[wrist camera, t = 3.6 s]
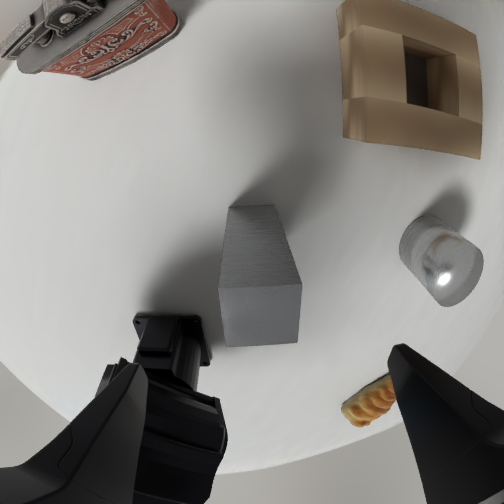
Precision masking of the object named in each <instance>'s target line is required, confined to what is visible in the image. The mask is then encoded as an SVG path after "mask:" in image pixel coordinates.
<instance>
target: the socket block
mask: <svg viewBox="0 0 504 504" xmlns="http://www.w3.org/2000/svg"><path fill="white" fill-rule="evenodd" d="M337 17H338V27H339V37H340V50H341V65H342V86H343V137H346V138H350V139H355V140H359V141H363V142H367V143H378V144H388V145H397V146H405V147H413V148H420V149H426V150H433V151H439V152H444V153H450V154H455V155H460V156H465V157H470V158H474V159H479V160H480V156H481V143H482V84H481V71H480V61H479V53H478V46H477V40H476V35H475V34H473V33H471V32H469V31H468V30H466V29H464V28H462V27H460V26H458V25H456V24H454V23H452V22H450V21H448V20H446V19H444V18H441V17H439V16H437V15H435V14H432V13H430V12H427V11H425V10H422V9H420V8H417V7H415V6H412V5H409V4H406V3H403V2H400V1H397V0H345V1H344V2H343V3H342V4H341V5H340V6H339V7H338V8H337Z"/></svg>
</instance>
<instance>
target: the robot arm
mask: <svg viewBox="0 0 504 504" xmlns="http://www.w3.org/2000/svg"><path fill="white" fill-rule="evenodd" d="M137 320H138V321H140V322H138V321H137ZM195 321H198V322H195ZM133 324H134V327H135V329H136V332H137V334H138V337H139V339H140V341H139V344H138V347H137V352H136V355H135V358H134V360H133V363H130V362H128V361H127V360H126V359H124V358H122V357H121V358H120V360H119V362H118V364H116V363H115V365H107V367H106V370H105V372H104V375H103V377H102V380H101V382H100V385H99V387H98V390H97V392H96V395H95V398H94V399H93V400H92V401H91V402H90V403H89V404H88V405H87V406H86V407H85V408H84V409H83V410H82V411H81V412H80V413H79V414H78V415H77V416H76V417H75V418H74V419H73V420H72V422H71V423H70V424H69V425H68V426H67V427H66V428H65V429H64V430H63V431H62V432H61V433H60V434H58V435H57V436H56V437H55V438H54V439H53V440H52V441H51V442H50V443H49V444H47V445H46V446H45V447H44V448H43V449H41V450H40V451H39V452H38V453H36V454H35V455H34V456H33V457H31V458H30V459H29V460H28V461H26V462H25V463H23V464H21V465H18V466H14V467H5V468H0V504H204V503H205V502H206V500H207V499H208V498H209V497H210V493H211V489H212V484H213V480H214V476H215V473H216V471H217V468H218V466H219V464H220V462H221V461H222V459H223V456H224V453H225V450H226V447H227V441H228V434H227V429H226V425H225V421H224V417H223V412H222V408H221V404H220V399H219V398H216V397H210V396H207V395H205V394H202V393H199V392H197V384H198V376H199V368H200V366H209V365H210V357H209V352H208V347H207V343H206V338H205V333H204V328H203V323H202V319H201V317H199V316H196V315H191V316H135V317H134V319H133ZM387 364H388V369H389V373H390V376H391V380H392V384H393V389H394V393H395V397H396V400H397V403H398V406H399V409H400V412H401V415H402V418H403V421H404V423H405V426H406V430H407V433H408V436H409V439H410V442H411V445H412V449H413V452H414V455H415V458H416V462H417V466H418V469H419V473H420V477H421V481H422V484H423V488H424V493H425V497H426V501H427V504H504V410H502V409H500V408H498V407H497V406H495V405H493V404H491V403H489V402H488V401H486V400H485V399H483V398H482V397H480V396H479V395H477V394H476V393H475V392H473V391H472V390H470V389H469V388H467V387H466V386H464V385H463V384H462V383H460V382H459V381H458V380H456V379H455V378H453V377H452V376H450V375H449V374H448V373H446V372H445V371H443V370H442V369H440V368H439V367H438V366H436V365H435V364H433V363H432V362H430V361H429V360H428V359H426V358H425V357H423V356H422V355H420V354H419V353H417V352H416V351H415V350H413V349H412V348H410V347H409V346H407V345H406V344H403V343H402V344H397V345H394V346H393V348H392V351H391V353H390V356H389V358H388V363H387Z"/></svg>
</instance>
